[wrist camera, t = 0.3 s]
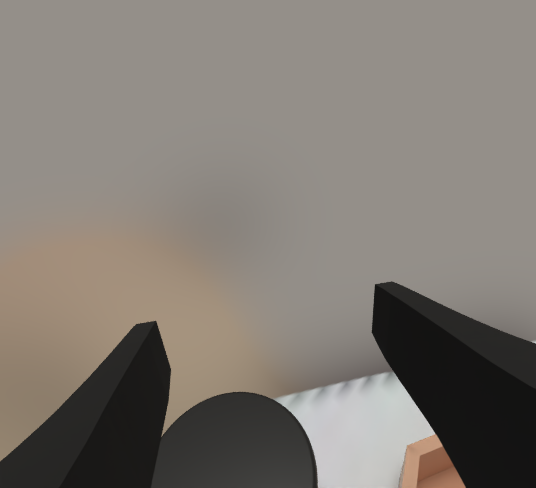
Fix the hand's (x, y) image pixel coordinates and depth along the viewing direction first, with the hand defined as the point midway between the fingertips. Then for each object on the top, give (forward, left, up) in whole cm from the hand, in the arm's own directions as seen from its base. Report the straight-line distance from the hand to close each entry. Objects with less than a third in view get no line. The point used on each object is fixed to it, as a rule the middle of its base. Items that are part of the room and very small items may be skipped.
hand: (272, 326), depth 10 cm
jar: (+1, +3, -21) cm, 21 cm away
